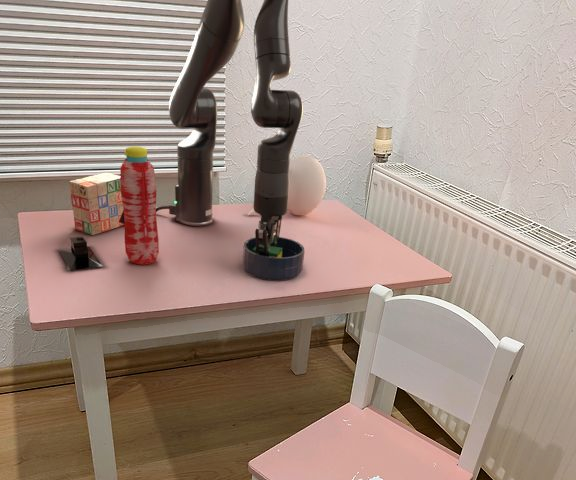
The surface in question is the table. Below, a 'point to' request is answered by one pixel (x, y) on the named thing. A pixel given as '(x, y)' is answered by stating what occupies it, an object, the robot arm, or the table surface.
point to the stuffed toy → (304, 185)
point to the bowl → (274, 260)
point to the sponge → (272, 251)
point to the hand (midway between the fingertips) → (266, 263)
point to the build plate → (80, 255)
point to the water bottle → (139, 207)
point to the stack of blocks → (97, 203)
